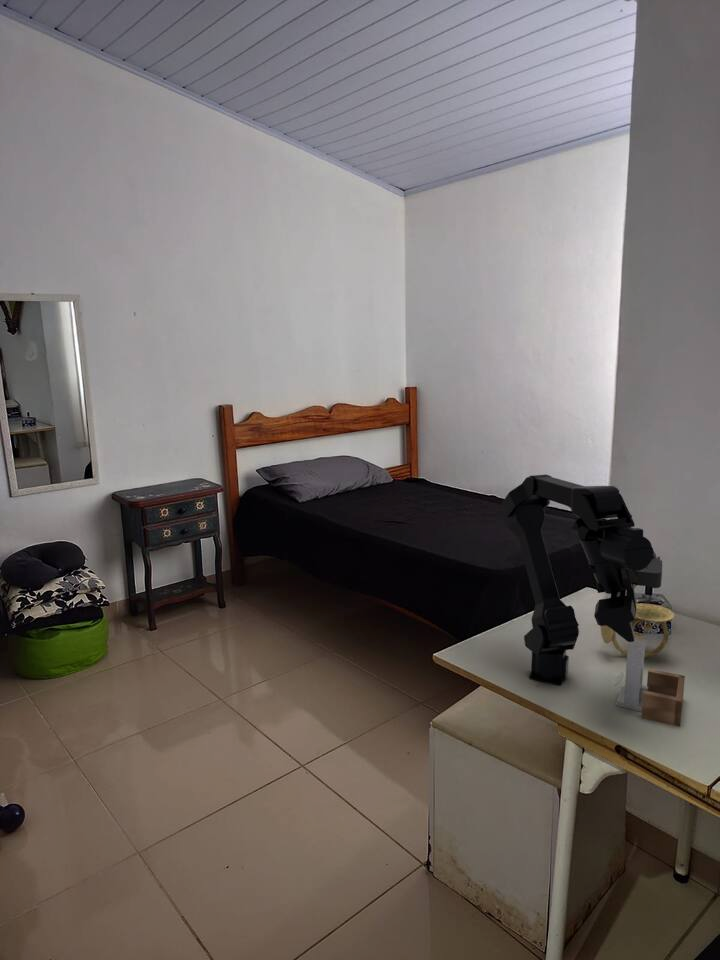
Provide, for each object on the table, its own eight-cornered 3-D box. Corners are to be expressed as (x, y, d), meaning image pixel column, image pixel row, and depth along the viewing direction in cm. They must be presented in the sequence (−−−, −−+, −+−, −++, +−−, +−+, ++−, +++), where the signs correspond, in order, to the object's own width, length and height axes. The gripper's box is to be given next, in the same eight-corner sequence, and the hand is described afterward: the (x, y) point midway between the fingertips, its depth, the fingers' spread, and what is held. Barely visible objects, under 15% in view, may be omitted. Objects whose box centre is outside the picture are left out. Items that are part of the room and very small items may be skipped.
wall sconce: (610, 667, 135) (617, 553, 130) (596, 647, 144) (602, 540, 140) (678, 668, 134) (687, 554, 130) (660, 648, 143) (668, 540, 139)
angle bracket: (616, 705, 120) (620, 650, 118) (620, 691, 125) (624, 638, 123) (645, 712, 118) (649, 656, 115) (648, 697, 123) (652, 643, 121)
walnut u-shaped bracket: (641, 718, 116) (643, 693, 115) (646, 692, 125) (648, 668, 124) (680, 727, 113) (682, 701, 112) (682, 700, 122) (685, 675, 121)
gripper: (649, 575, 102) (680, 653, 106) (652, 519, 117) (678, 589, 121) (580, 586, 108) (611, 660, 112) (591, 532, 123) (618, 599, 127)
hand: (632, 625), depth 118 cm, fingers open, 9 cm apart
